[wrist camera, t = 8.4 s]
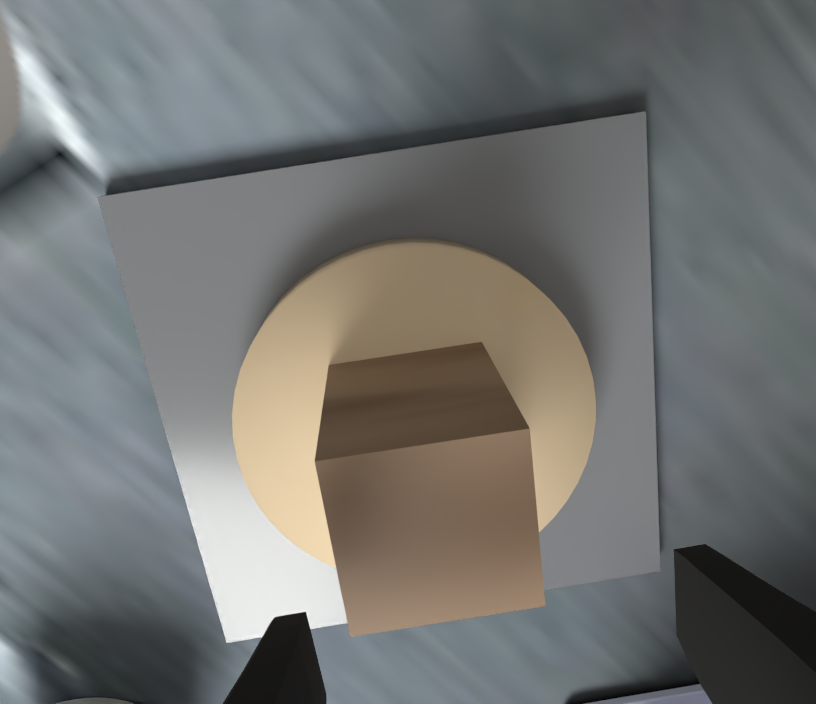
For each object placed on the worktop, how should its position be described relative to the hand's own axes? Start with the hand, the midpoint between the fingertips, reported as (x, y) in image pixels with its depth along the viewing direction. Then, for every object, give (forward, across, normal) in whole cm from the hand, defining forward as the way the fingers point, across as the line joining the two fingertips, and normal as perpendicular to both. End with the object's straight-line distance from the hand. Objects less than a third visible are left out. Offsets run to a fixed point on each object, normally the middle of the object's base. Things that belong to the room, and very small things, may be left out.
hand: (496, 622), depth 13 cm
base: (+10, +1, -1) cm, 10 cm away
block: (+8, +1, -1) cm, 8 cm away
